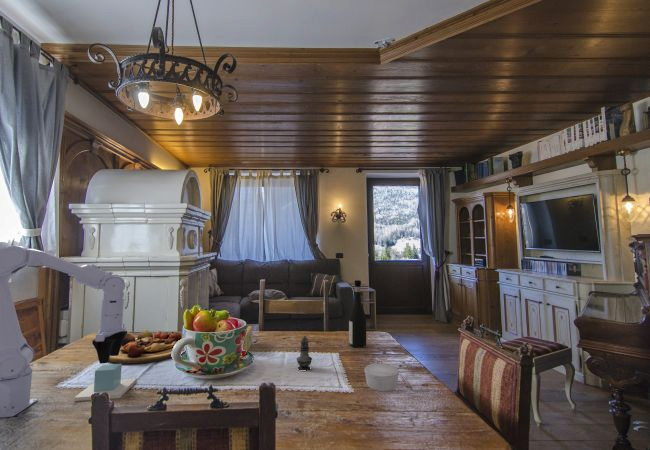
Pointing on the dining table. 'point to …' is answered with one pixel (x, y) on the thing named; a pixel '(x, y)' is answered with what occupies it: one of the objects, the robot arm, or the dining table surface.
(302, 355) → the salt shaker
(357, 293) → the wine bottle
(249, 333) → the candy box
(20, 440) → the dining table surface
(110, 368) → the pale blue cube
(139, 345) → the wooden plate with food
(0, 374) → the robot arm
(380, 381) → the ramekin
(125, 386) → the post stand
